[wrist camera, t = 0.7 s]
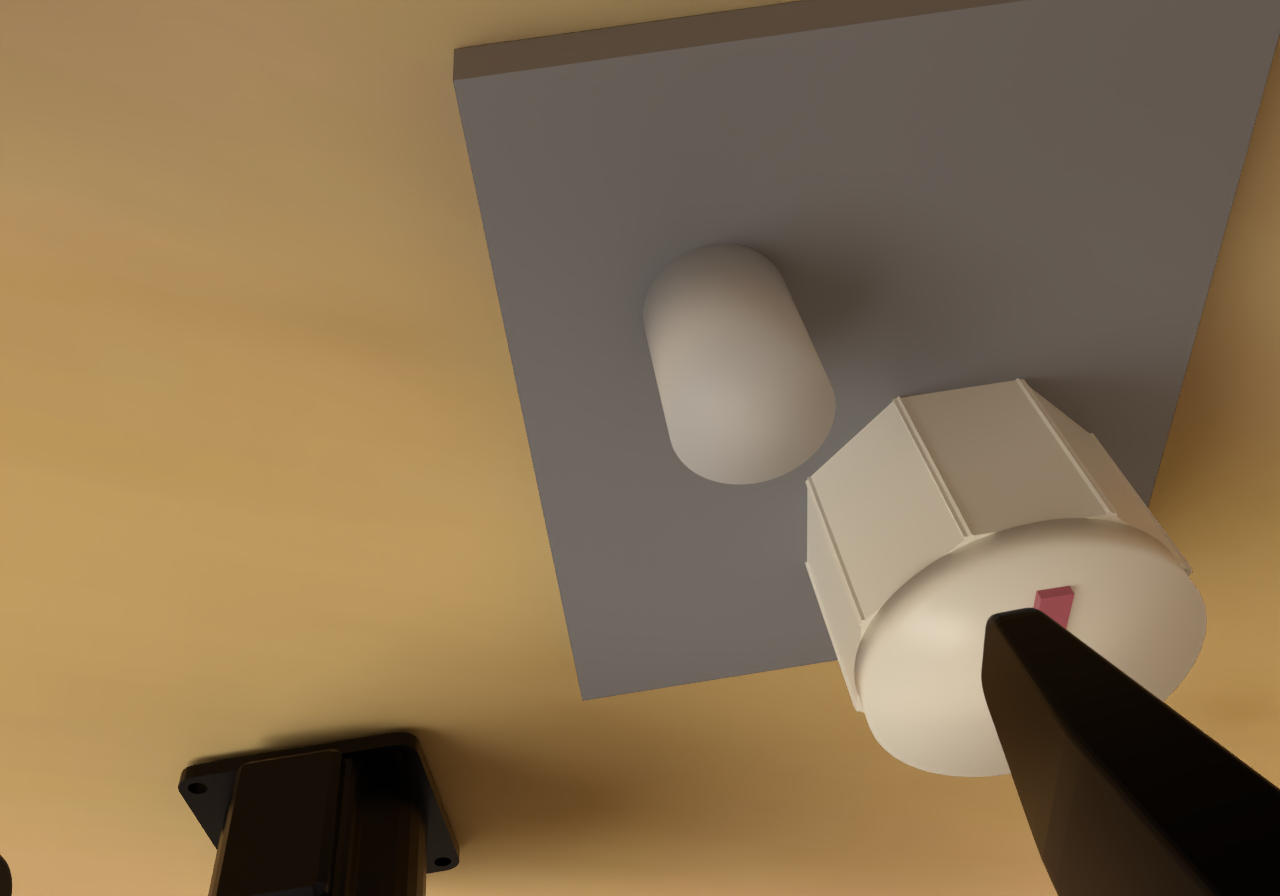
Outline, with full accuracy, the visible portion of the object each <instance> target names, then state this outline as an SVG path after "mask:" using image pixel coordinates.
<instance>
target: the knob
mask: <svg viewBox="0 0 1280 896" xmlns="http://www.w3.org/2000/svg"><path fill="white" fill-rule="evenodd" d="M805 483H806V485H807V562H806V563H805V565H806V568H807V571H808V574H809V577H810V579H811V582H812V585H813V588H814V591H815V594H816V597H817V600H818V603H819V606H820V609H821V612H822V615H823V618H824V621H825V623H826V626H827V629H828V632H829V635H830V638H831V641H832V644H833V647H834V650H835V653H836V656H837V659H838V662H839V665H840V667H841V670H842V673H843V676H844V679H845V682H846V685H847V688H848V691H849V694H850V697H851V700H852V703H853V706H854V708H855V709H856V711H857V712H858V711H861V712H863V713H865V716H866V719H867V722H868V725H869V727H870V729H871V731H872V733H873V735H874V737H875V739H876V740H877V741H878V742H879V744H880V745H881V746H882V747H883V748H884V749H885V750H886V751H887V752H889V753H890V754H891V755H892V756H894V757H895V758H897V759H898V760H900V761H902V762H904V763H906V764H907V765H910V766H912V767H915V768H918V769H920V770H923V771H928V772H932V773H936V774H941V775H949V776H959V777H986V776H998V775H1006V774H1011V772H1010V769H1009V766H1008V763H1007V760H1006V758H1005V755H1004V752H1003V749H1002V746H1001V743H1000V741H999V738H998V735H997V732H996V729H995V726H994V723H993V721H992V718H991V715H990V712H989V709H988V706H987V704H986V700H985V697H984V693H983V689H982V682H981V669H982V659H983V648H984V638H985V627H986V623H987V620H988V619H989V617H990V616H991V615H993V614H996V613H1001V612H1006V611H1011V610H1016V609H1022V608H1035V609H1038V610H1040V611H1042V612H1044V613H1045V614H1046V615H1048V616H1049V617H1050V618H1052V619H1053V620H1054V621H1056V622H1057V623H1058V624H1060V625H1061V626H1062V627H1064V628H1065V629H1066V630H1068V631H1069V632H1070V633H1072V634H1073V635H1074V636H1076V637H1077V638H1078V639H1080V640H1081V641H1082V642H1084V643H1085V644H1086V645H1088V646H1089V647H1090V648H1092V649H1093V650H1094V651H1096V652H1097V653H1098V654H1100V655H1101V656H1103V657H1104V658H1105V659H1107V660H1108V661H1109V662H1111V663H1112V664H1113V665H1115V666H1116V667H1117V668H1119V669H1120V670H1121V671H1123V672H1124V673H1125V674H1127V675H1128V676H1129V677H1131V678H1132V679H1133V680H1135V681H1136V682H1137V683H1139V684H1140V685H1141V686H1143V687H1144V688H1145V689H1147V690H1148V691H1149V692H1151V693H1152V694H1153V695H1155V696H1156V697H1157V698H1159V699H1160V700H1161V701H1163V702H1164V701H1165V700H1166V699H1167V698H1168V697H1169V696H1170V695H1171V694H1172V693H1173V692H1174V691H1175V689H1176V688H1177V687H1178V686H1179V684H1180V683H1181V682H1182V681H1183V679H1184V678H1185V677H1186V676H1187V674H1188V672H1189V671H1190V669H1191V668H1192V666H1193V664H1194V663H1195V661H1196V659H1197V657H1198V654H1199V652H1200V650H1201V648H1202V645H1203V641H1204V637H1205V633H1206V622H1207V617H1206V610H1205V604H1204V602H1203V599H1202V597H1201V594H1200V592H1199V591H1198V589H1197V588H1196V586H1195V585H1194V584H1193V582H1192V581H1191V579H1190V578H1189V575H1190V574H1191V573H1192V572H1193V571H1192V570H1191V569H1192V567H1191V566H1190V565H1189V563H1188V562H1187V560H1186V559H1185V558H1184V556H1183V555H1182V554H1181V552H1180V551H1179V550H1178V548H1177V547H1176V546H1175V544H1174V543H1173V541H1172V540H1171V539H1170V537H1169V536H1168V535H1167V533H1166V532H1165V531H1164V529H1163V528H1162V526H1161V525H1160V524H1159V522H1158V521H1157V520H1156V518H1155V517H1154V516H1153V514H1152V513H1151V511H1150V510H1149V509H1148V507H1147V506H1146V505H1145V503H1144V502H1143V501H1142V499H1141V498H1140V496H1139V495H1138V494H1137V492H1136V491H1135V490H1134V488H1133V487H1132V486H1131V484H1130V483H1129V482H1128V480H1127V479H1126V477H1125V476H1124V475H1123V473H1122V472H1121V471H1120V469H1119V468H1118V467H1117V465H1116V464H1115V462H1114V461H1113V460H1112V458H1111V457H1110V456H1109V454H1108V453H1107V452H1106V450H1105V449H1104V447H1103V446H1102V445H1101V443H1100V442H1099V441H1098V439H1097V438H1096V437H1095V435H1094V434H1093V433H1088V432H1087V431H1086V430H1084V429H1083V428H1082V427H1081V426H1079V425H1078V424H1077V423H1075V422H1074V421H1073V420H1072V419H1070V418H1069V417H1068V416H1066V415H1065V414H1064V413H1063V412H1061V411H1060V410H1059V409H1058V408H1056V407H1055V406H1054V405H1052V404H1051V403H1050V402H1049V401H1047V400H1046V399H1045V398H1043V397H1042V396H1041V395H1040V394H1038V393H1037V392H1036V391H1034V390H1033V389H1032V388H1031V387H1029V386H1028V384H1027V383H1026V381H1025V380H1024V379H1019V378H1017V379H1016V380H1013V381H1007V382H1000V383H994V384H987V385H981V386H974V387H967V388H961V389H954V390H948V391H941V392H934V393H928V394H921V395H915V396H908V397H902V398H901V397H900V396H898V397H897V398H895V399H893V401H892V403H891V404H889V405H888V406H887V407H886V408H885V409H884V410H883V411H882V412H881V413H880V414H878V415H877V416H876V417H875V418H874V419H873V420H872V421H871V422H870V423H869V424H868V425H866V426H865V427H864V428H863V429H862V430H861V431H860V432H859V433H858V434H857V435H856V436H854V437H853V438H852V439H851V440H850V441H849V442H848V443H847V444H846V445H845V446H844V447H842V448H841V449H840V450H839V451H838V452H837V453H836V454H835V455H834V456H833V457H831V458H830V459H829V460H828V461H827V462H826V463H825V464H824V465H823V466H822V467H821V468H819V469H818V470H817V471H816V472H815V473H814V474H813V475H812V476H810V477H807V480H806V481H805Z"/></svg>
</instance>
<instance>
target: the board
mask: <svg viewBox="0 0 1280 896" xmlns="http://www.w3.org/2000/svg"><path fill="white" fill-rule="evenodd" d="M1279 34H1280V0H805V1H798V2H791V3H784V4H777V5H769V6H762V7H755V8H748V9H741V10H733V11H726V12H719V13H712V14H704V15H697V16H690V17H683V18H676V19H668V20H661V21H654V22H647V23H640V24H632V25H625V26H618V27H611V28H604V29H596V30H589V31H582V32H575V33H568V34H560V35H553V36H546V37H539V38H532V39H524V40H517V41H510V42H503V43H496V44H488V45H481V46H474V47H467V48H460V49H454V68H453V83H454V88H455V92H456V97H457V102H458V107H459V112H460V116H461V121H462V126H463V131H464V136H465V140H466V145H467V150H468V155H469V159H470V164H471V169H472V174H473V179H474V183H475V188H476V193H477V198H478V203H479V207H480V212H481V217H482V222H483V226H484V231H485V236H486V241H487V246H488V250H489V255H490V260H491V265H492V270H493V274H494V279H495V284H496V289H497V294H498V298H499V303H500V308H501V313H502V317H503V322H504V327H505V332H506V337H507V341H508V346H509V351H510V356H511V361H512V365H513V370H514V375H515V380H516V384H517V389H518V394H519V399H520V404H521V408H522V413H523V418H524V423H525V428H526V432H527V437H528V442H529V447H530V451H531V456H532V461H533V466H534V471H535V475H536V480H537V485H538V490H539V495H540V499H541V504H542V509H543V514H544V518H545V523H546V528H547V533H548V538H549V542H550V547H551V552H552V557H553V562H554V566H555V571H556V576H557V581H558V585H559V590H560V595H561V600H562V605H563V609H564V614H565V619H566V624H567V629H568V633H569V638H570V643H571V648H572V652H573V657H574V662H575V667H576V672H577V676H578V681H579V686H580V691H581V696H582V700H583V701H584V700H590V699H596V698H602V697H609V696H615V695H621V694H627V693H634V692H640V691H646V690H652V689H659V688H665V687H671V686H677V685H684V684H690V683H696V682H702V681H709V680H715V679H721V678H727V677H734V676H740V675H746V674H752V673H759V672H765V671H771V670H777V669H784V668H790V667H796V666H802V665H809V664H815V663H821V662H827V661H834V660H838V659H837V656H836V653H835V650H834V647H833V644H832V641H831V638H830V635H829V632H828V629H827V626H826V623H825V621H824V618H823V615H822V612H821V609H820V606H819V603H818V600H817V597H816V594H815V591H814V588H813V585H812V582H811V579H810V577H809V574H808V571H807V568H806V565H805V563H806V562H807V485H806V483H805V481H806V480H807V477H810V476H812V475H813V474H814V473H815V472H816V471H817V470H818V469H819V468H821V467H822V466H823V465H824V464H825V463H826V462H827V461H828V460H829V459H830V458H831V457H833V456H834V455H835V454H836V453H837V452H838V451H839V450H840V449H841V448H842V447H844V446H845V445H846V444H847V443H848V442H849V441H850V440H851V439H852V438H853V437H854V436H856V435H857V434H858V433H859V432H860V431H861V430H862V429H863V428H864V427H865V426H866V425H868V424H869V423H870V422H871V421H872V420H873V419H874V418H875V417H876V416H877V415H878V414H880V413H881V412H882V411H883V410H884V409H885V408H886V407H887V406H888V405H889V404H891V403H892V401H893V399H895V398H897V397H898V396H900V397H901V398H902V397H908V396H915V395H921V394H928V393H934V392H941V391H948V390H954V389H961V388H967V387H974V386H981V385H987V384H994V383H1000V382H1007V381H1013V380H1016V379H1017V378H1019V379H1024V380H1025V381H1026V383H1027V384H1028V386H1029V387H1031V388H1032V389H1033V390H1034V391H1036V392H1037V393H1038V394H1040V395H1041V396H1042V397H1043V398H1045V399H1046V400H1047V401H1049V402H1050V403H1051V404H1052V405H1054V406H1055V407H1056V408H1058V409H1059V410H1060V411H1061V412H1063V413H1064V414H1065V415H1066V416H1068V417H1069V418H1070V419H1072V420H1073V421H1074V422H1075V423H1077V424H1078V425H1079V426H1081V427H1082V428H1083V429H1084V430H1086V431H1087V432H1088V433H1093V434H1094V435H1095V437H1096V438H1097V439H1098V441H1099V442H1100V443H1101V445H1102V446H1103V447H1104V449H1105V450H1106V452H1107V453H1108V454H1109V456H1110V457H1111V458H1112V460H1113V461H1114V462H1115V464H1116V465H1117V467H1118V468H1119V469H1120V471H1121V472H1122V473H1123V475H1124V476H1125V477H1126V479H1127V480H1128V482H1129V483H1130V484H1131V486H1132V487H1133V488H1134V490H1135V491H1136V492H1137V494H1138V495H1139V496H1140V498H1141V499H1142V501H1143V502H1144V503H1145V505H1146V506H1147V507H1148V506H1149V502H1150V499H1151V495H1152V491H1153V488H1154V484H1155V481H1156V477H1157V473H1158V470H1159V466H1160V463H1161V459H1162V455H1163V452H1164V448H1165V445H1166V441H1167V437H1168V434H1169V430H1170V427H1171V423H1172V419H1173V416H1174V412H1175V409H1176V405H1177V401H1178V398H1179V394H1180V391H1181V387H1182V383H1183V380H1184V376H1185V373H1186V369H1187V366H1188V362H1189V358H1190V355H1191V351H1192V348H1193V344H1194V340H1195V337H1196V333H1197V330H1198V326H1199V322H1200V319H1201V315H1202V312H1203V308H1204V304H1205V301H1206V297H1207V294H1208V290H1209V286H1210V283H1211V279H1212V276H1213V272H1214V268H1215V265H1216V261H1217V258H1218V254H1219V250H1220V247H1221V243H1222V240H1223V236H1224V232H1225V229H1226V225H1227V222H1228V218H1229V214H1230V211H1231V207H1232V204H1233V200H1234V196H1235V193H1236V189H1237V186H1238V182H1239V178H1240V175H1241V171H1242V168H1243V164H1244V160H1245V157H1246V153H1247V150H1248V146H1249V142H1250V139H1251V135H1252V132H1253V128H1254V124H1255V121H1256V117H1257V114H1258V110H1259V106H1260V103H1261V99H1262V96H1263V92H1264V88H1265V85H1266V81H1267V78H1268V74H1269V70H1270V67H1271V63H1272V60H1273V56H1274V52H1275V49H1276V45H1277V42H1278V38H1279Z"/></svg>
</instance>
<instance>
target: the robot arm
mask: <svg viewBox="0 0 1280 896" xmlns="http://www.w3.org/2000/svg"><path fill="white" fill-rule="evenodd" d="M981 682H982V689H983V693H984V697H985V700H986V704H987V706H988V709H989V712H990V715H991V718H992V721H993V723H994V726H995V729H996V732H997V735H998V738H999V741H1000V743H1001V746H1002V749H1003V752H1004V755H1005V758H1006V760H1007V763H1008V766H1009V769H1010V772H1011V775H1012V777H1013V780H1014V783H1015V786H1016V789H1017V792H1018V795H1019V797H1020V800H1021V803H1022V806H1023V809H1024V812H1025V814H1026V817H1027V820H1028V823H1029V826H1030V829H1031V831H1032V834H1033V837H1034V840H1035V842H1036V845H1037V848H1038V850H1039V853H1040V856H1041V858H1042V861H1043V863H1044V865H1045V868H1046V870H1047V872H1048V874H1049V877H1050V879H1051V881H1052V883H1053V885H1054V888H1055V890H1056V892H1057V894H1058V896H1280V789H1279V788H1278V787H1276V786H1275V785H1274V784H1272V783H1271V782H1270V781H1268V780H1267V779H1266V778H1264V777H1263V776H1261V775H1260V774H1259V773H1257V772H1256V771H1255V770H1253V769H1252V768H1251V767H1249V766H1248V765H1247V764H1245V763H1244V762H1243V761H1241V760H1240V759H1239V758H1237V757H1236V756H1235V755H1233V754H1232V753H1231V752H1229V751H1228V750H1227V749H1225V748H1224V747H1223V746H1221V745H1220V744H1219V743H1217V742H1216V741H1215V740H1213V739H1212V738H1211V737H1209V736H1208V735H1207V734H1205V733H1204V732H1203V731H1201V730H1200V729H1199V728H1197V727H1196V726H1195V725H1193V724H1192V723H1191V722H1189V721H1188V720H1187V719H1185V718H1184V717H1183V716H1181V715H1180V714H1179V713H1177V712H1176V711H1175V710H1173V709H1172V708H1171V707H1169V706H1168V705H1167V704H1165V703H1164V702H1163V701H1161V700H1160V699H1159V698H1157V697H1156V696H1155V695H1153V694H1152V693H1151V692H1149V691H1148V690H1147V689H1145V688H1144V687H1143V686H1141V685H1140V684H1139V683H1137V682H1136V681H1135V680H1133V679H1132V678H1131V677H1129V676H1128V675H1127V674H1125V673H1124V672H1123V671H1121V670H1120V669H1119V668H1117V667H1116V666H1115V665H1113V664H1112V663H1111V662H1109V661H1108V660H1107V659H1105V658H1104V657H1103V656H1101V655H1100V654H1098V653H1097V652H1096V651H1094V650H1093V649H1092V648H1090V647H1089V646H1088V645H1086V644H1085V643H1084V642H1082V641H1081V640H1080V639H1078V638H1077V637H1076V636H1074V635H1073V634H1072V633H1070V632H1069V631H1068V630H1066V629H1065V628H1064V627H1062V626H1061V625H1060V624H1058V623H1057V622H1056V621H1054V620H1053V619H1052V618H1050V617H1049V616H1048V615H1046V614H1045V613H1044V612H1042V611H1040V610H1038V609H1035V608H1022V609H1016V610H1011V611H1006V612H1001V613H996V614H993V615H991V616H990V617H989V619H988V620H987V623H986V627H985V638H984V648H983V659H982V669H981ZM178 789H179V792H180V793H181V795H182V797H183V798H184V800H185V801H186V803H187V804H188V806H189V807H190V809H191V810H192V812H193V813H194V815H195V817H196V818H197V820H198V821H199V823H200V824H201V826H202V827H203V829H204V830H205V832H206V834H207V835H208V837H209V838H210V840H211V841H212V843H213V844H214V846H215V847H216V849H217V854H216V859H215V864H214V869H213V874H212V879H211V884H210V889H209V894H208V896H426V874H427V873H433V872H439V871H445V870H449V869H452V868H454V867H456V866H457V865H458V863H459V846H458V843H457V840H456V838H455V835H454V832H453V830H452V827H451V824H450V822H449V819H448V817H447V814H446V811H445V809H444V806H443V803H442V801H441V798H440V795H439V793H438V790H437V788H436V785H435V782H434V780H433V777H432V774H431V772H430V769H429V766H428V764H427V761H426V759H425V756H424V753H423V751H422V748H421V745H420V743H419V740H418V739H417V738H416V737H415V736H413V735H412V734H409V733H404V732H401V733H391V734H385V735H379V736H373V737H366V738H360V739H354V740H348V741H341V742H335V743H329V744H323V745H316V746H310V747H304V748H298V749H291V750H285V751H279V752H273V753H266V754H260V755H254V756H248V757H241V758H235V759H229V760H223V761H216V762H210V763H204V764H198V765H193V766H189V767H187V768H185V769H184V770H183V771H182V774H181V777H180V781H179V785H178ZM11 894H12V877H11V873H10V869H9V866H8V864H7V862H6V861H5V859H4V858H3V857H2V856H1V855H0V896H11Z"/></svg>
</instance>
